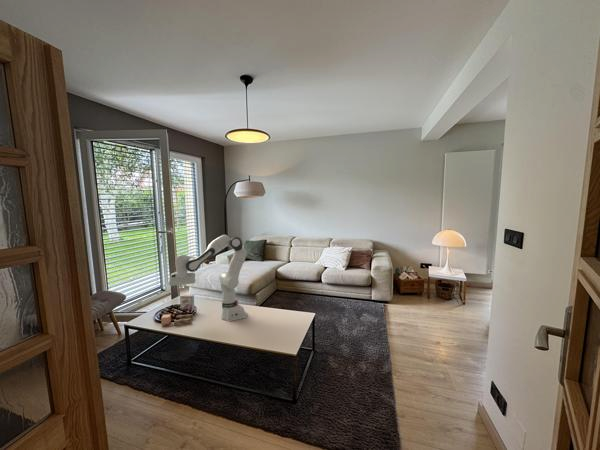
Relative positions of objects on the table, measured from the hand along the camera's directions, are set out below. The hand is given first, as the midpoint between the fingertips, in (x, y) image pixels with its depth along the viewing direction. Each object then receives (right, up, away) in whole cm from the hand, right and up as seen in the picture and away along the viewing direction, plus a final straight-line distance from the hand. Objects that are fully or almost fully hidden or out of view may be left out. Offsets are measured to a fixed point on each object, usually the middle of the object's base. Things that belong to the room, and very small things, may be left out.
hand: (183, 289), depth 213 cm
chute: (-3, -28, -1) cm, 28 cm away
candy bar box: (-5, -27, +18) cm, 33 cm away
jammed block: (-13, -28, -3) cm, 31 cm away
